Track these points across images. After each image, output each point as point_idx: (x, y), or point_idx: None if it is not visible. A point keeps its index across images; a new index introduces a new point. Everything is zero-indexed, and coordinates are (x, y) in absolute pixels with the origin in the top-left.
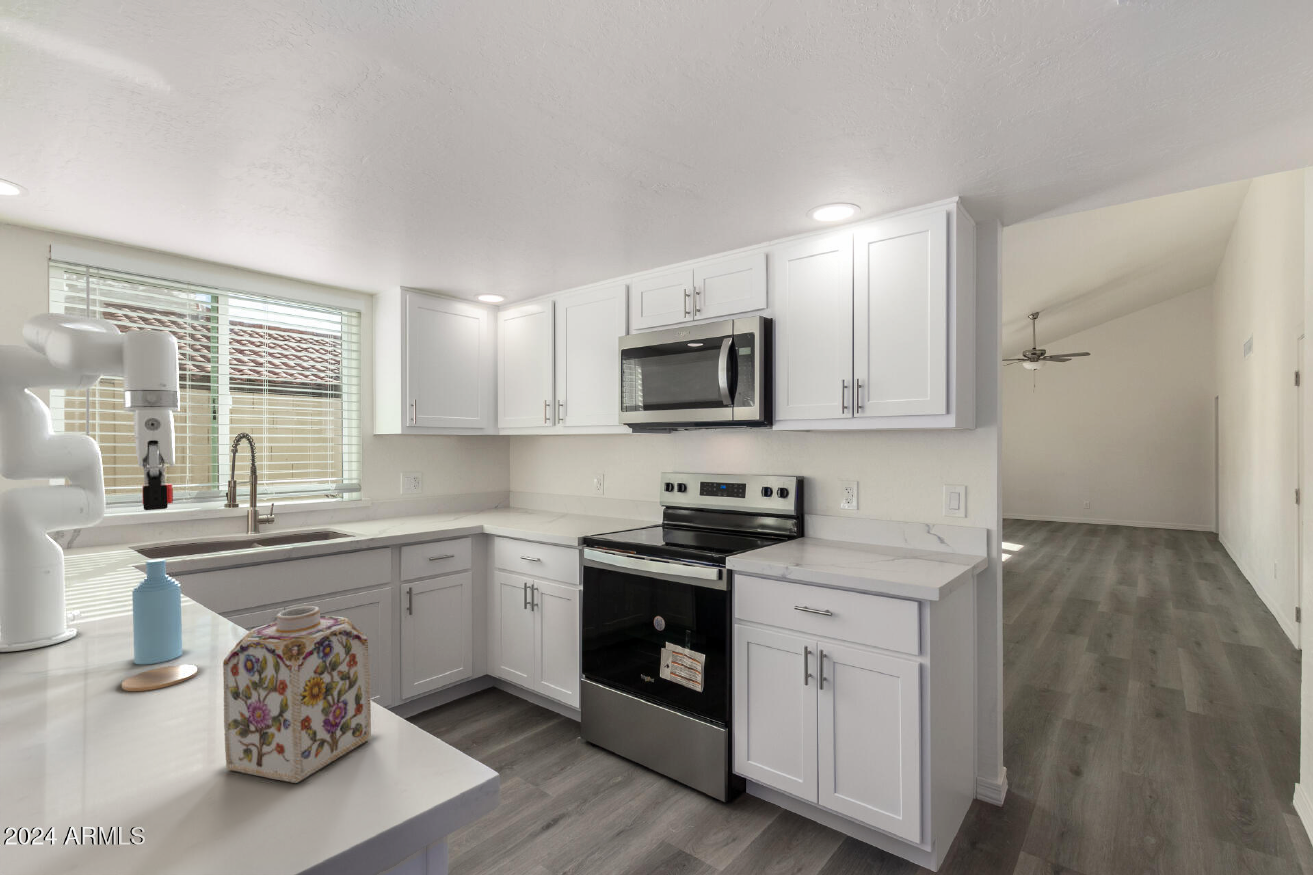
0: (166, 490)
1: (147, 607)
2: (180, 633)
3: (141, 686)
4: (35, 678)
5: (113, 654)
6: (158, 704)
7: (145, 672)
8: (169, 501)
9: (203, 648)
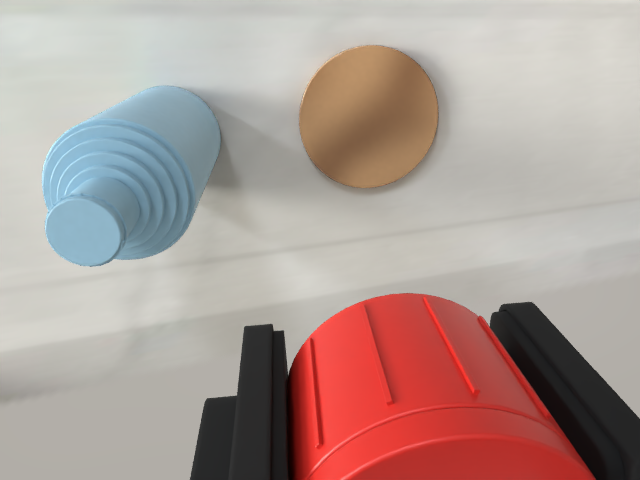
0: (624, 412)
1: (200, 196)
2: (168, 95)
3: (422, 150)
4: (184, 336)
5: None
6: (541, 110)
7: (317, 152)
8: (483, 319)
9: (139, 34)
